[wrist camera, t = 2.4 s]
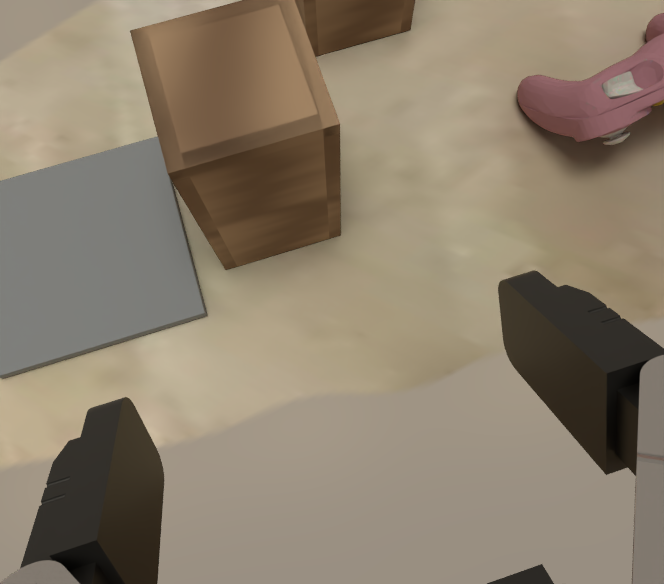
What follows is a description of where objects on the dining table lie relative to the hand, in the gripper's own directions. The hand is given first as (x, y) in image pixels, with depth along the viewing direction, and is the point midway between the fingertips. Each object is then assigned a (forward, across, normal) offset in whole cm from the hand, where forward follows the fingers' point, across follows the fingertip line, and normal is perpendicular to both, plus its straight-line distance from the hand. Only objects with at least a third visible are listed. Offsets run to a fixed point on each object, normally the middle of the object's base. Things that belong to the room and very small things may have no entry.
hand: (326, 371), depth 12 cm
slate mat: (+19, +9, +2) cm, 21 cm away
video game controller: (+19, -19, +3) cm, 27 cm away
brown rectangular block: (+19, 0, +2) cm, 19 cm away
